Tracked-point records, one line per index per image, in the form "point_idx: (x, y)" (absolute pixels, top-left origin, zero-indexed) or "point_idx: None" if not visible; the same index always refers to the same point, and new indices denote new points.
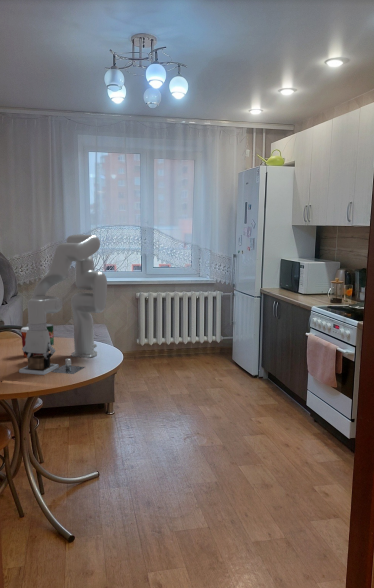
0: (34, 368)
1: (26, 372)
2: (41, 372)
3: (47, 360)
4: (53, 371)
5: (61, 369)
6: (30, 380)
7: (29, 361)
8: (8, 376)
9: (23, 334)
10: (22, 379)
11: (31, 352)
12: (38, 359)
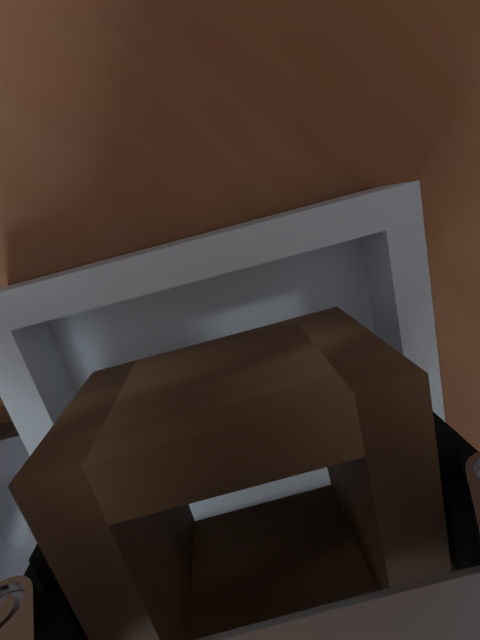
0: (221, 340)
1: (272, 216)
2: (4, 291)
3: (27, 573)
4: (17, 462)
5: (12, 560)
6: (42, 85)
7: (343, 357)
8: (474, 61)
9: None
10: (184, 58)
11: (419, 593)
12: (96, 461)
